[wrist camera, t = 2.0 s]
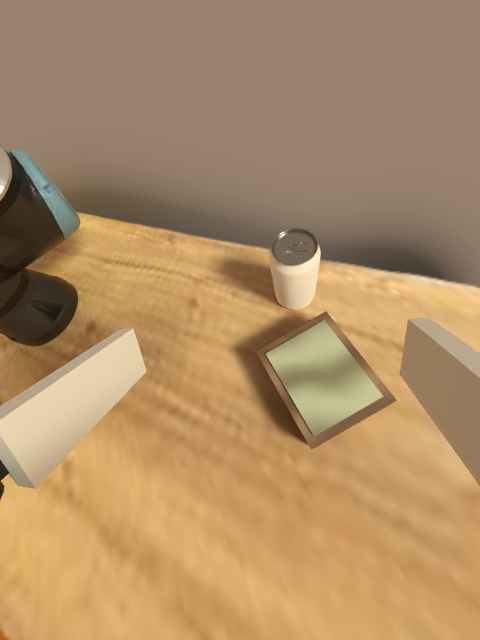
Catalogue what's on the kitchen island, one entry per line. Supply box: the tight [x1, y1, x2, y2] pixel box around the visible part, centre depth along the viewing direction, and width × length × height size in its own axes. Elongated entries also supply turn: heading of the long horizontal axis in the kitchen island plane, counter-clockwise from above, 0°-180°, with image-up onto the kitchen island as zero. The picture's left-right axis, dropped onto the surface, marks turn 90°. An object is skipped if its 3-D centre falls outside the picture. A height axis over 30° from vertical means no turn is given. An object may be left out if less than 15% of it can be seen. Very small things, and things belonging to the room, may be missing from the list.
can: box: [269, 228, 320, 310], centre depth 34 cm, size 6×6×12 cm
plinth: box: [256, 312, 397, 450], centre depth 31 cm, size 13×11×5 cm
